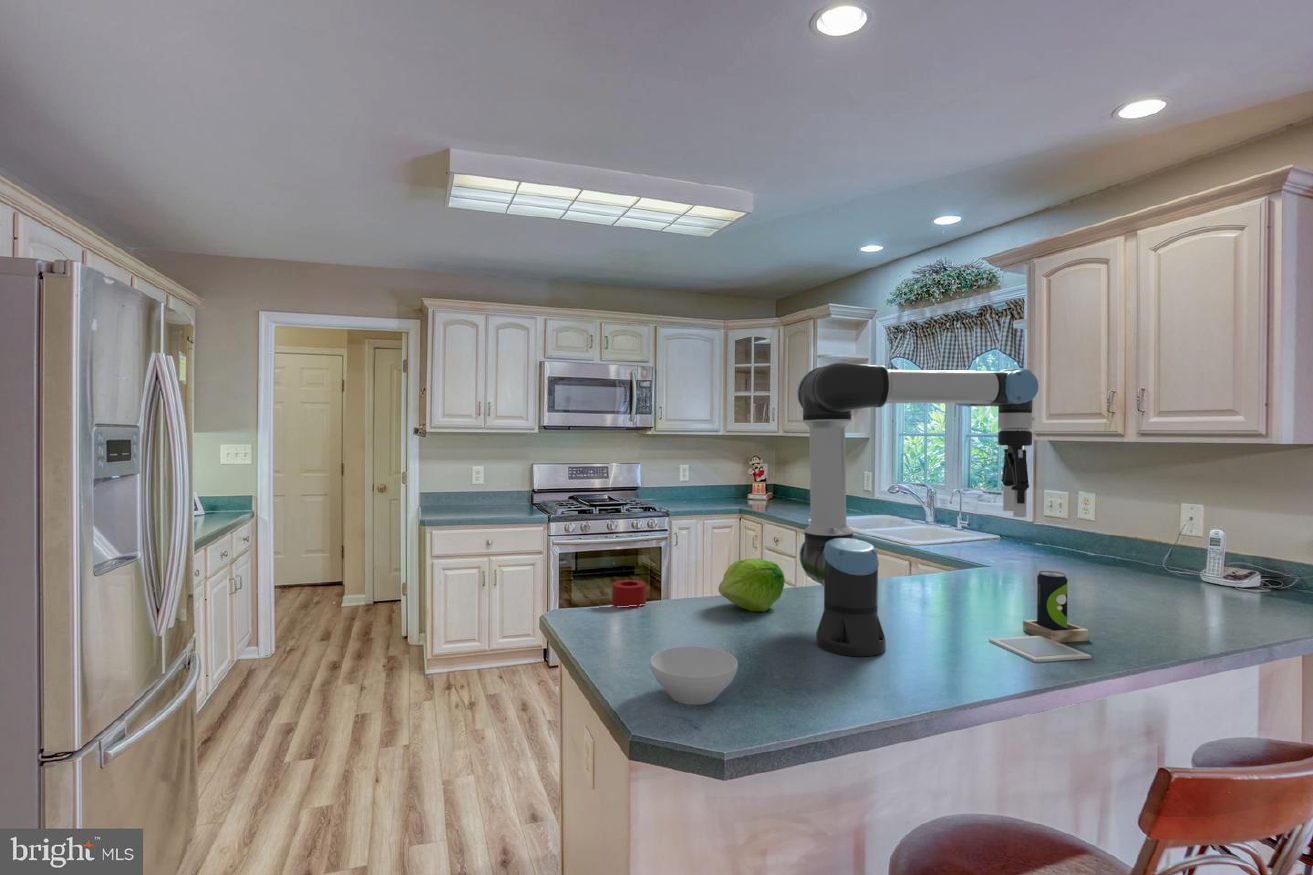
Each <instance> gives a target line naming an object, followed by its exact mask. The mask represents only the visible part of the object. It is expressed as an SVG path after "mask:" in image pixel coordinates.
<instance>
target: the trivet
mask: <svg viewBox="0 0 1313 875" xmlns="http://www.w3.org/2000/svg"><path fill="white" fill-rule="evenodd" d="M989 641H990V643H991V642H992V644H993V643H994V645H996V646H997V647H1000V648H1002V647H1003V648H1002V649H1004V648H1005V649H1004V650H1006V651H1009V652H1012V653H1013V652H1015V653H1017V654H1016V655H1018V654H1019V655H1018V656H1020V655H1021V656H1020V657H1022V656H1023V657H1022V658H1024V657H1025V658H1024V659H1026V658H1027V660H1028V659H1029V660H1028V661H1030V662H1033V663H1044V662H1045V663H1046V662H1058V661H1059V662H1061V661H1071V660H1074V661H1075V660H1086V659H1087V660H1088V659H1089V660H1090V659H1092V655H1091V654H1088V653H1085V652H1083V651H1081V650H1078V649H1076V648H1073V647H1071V646H1068V645H1065V644H1064V643H1058V642H1056V641H1053V640H1051V639H1048V638H1046V637H1043V636H1041V635H1040V636H1035V635H1027V636H1026V635H1025V636H1013V637H1012V636H1010V637H997V638H995V637H993V638H988V642H989ZM1015 653H1014V654H1015Z"/></svg>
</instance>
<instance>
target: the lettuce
mask: <svg viewBox="0 0 1313 875" xmlns="http://www.w3.org/2000/svg"><path fill="white" fill-rule="evenodd" d="M785 580H786V579H785V573H784V571H783V570H782V569H781V567H780V566H779V565H778V564H777V563H775V562H773V561H771V560H765V559H761V558H746V559H741V560H740V559H739V560H736V561H734V562H733V563H732V564H730V565H729V566H728V568H727V569H726V571H725V573H724V575H723V579H722V581H720V583H719V585H718V590H717V591H718V593H719V595H721V597H723V598H726V599H727V600H728V601H730V602H731V603H733V604H734V605H735V606H737V607H739V608H741V609H744V610H747V611H751V612H755V613H763V612H766V611H767V610H769V609H770V608H771V607H772V606H773V605H774V603H775V602H776V601H778V600H779V599H780V598H781V596H782V593H783V591H784V587H785Z"/></svg>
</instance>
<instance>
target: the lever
mask: <svg viewBox="0 0 1313 875" xmlns="http://www.w3.org/2000/svg"><path fill="white" fill-rule="evenodd" d="M611 597H612V598H611V605H612V606H613V607H615V608H618V607H617V606H629V605H637V606H629V607H620V608H619V609H625V608H627V610H628V609H629V610H632V609H639V608H638V607H640V608H643V607H645V606H646V605H647V583H646V582H645V581H643V580H635V579H623V580H622V579H621V580H617V581H614V582H612V584H611ZM640 604H646V605H641V606H639V605H640Z"/></svg>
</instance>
